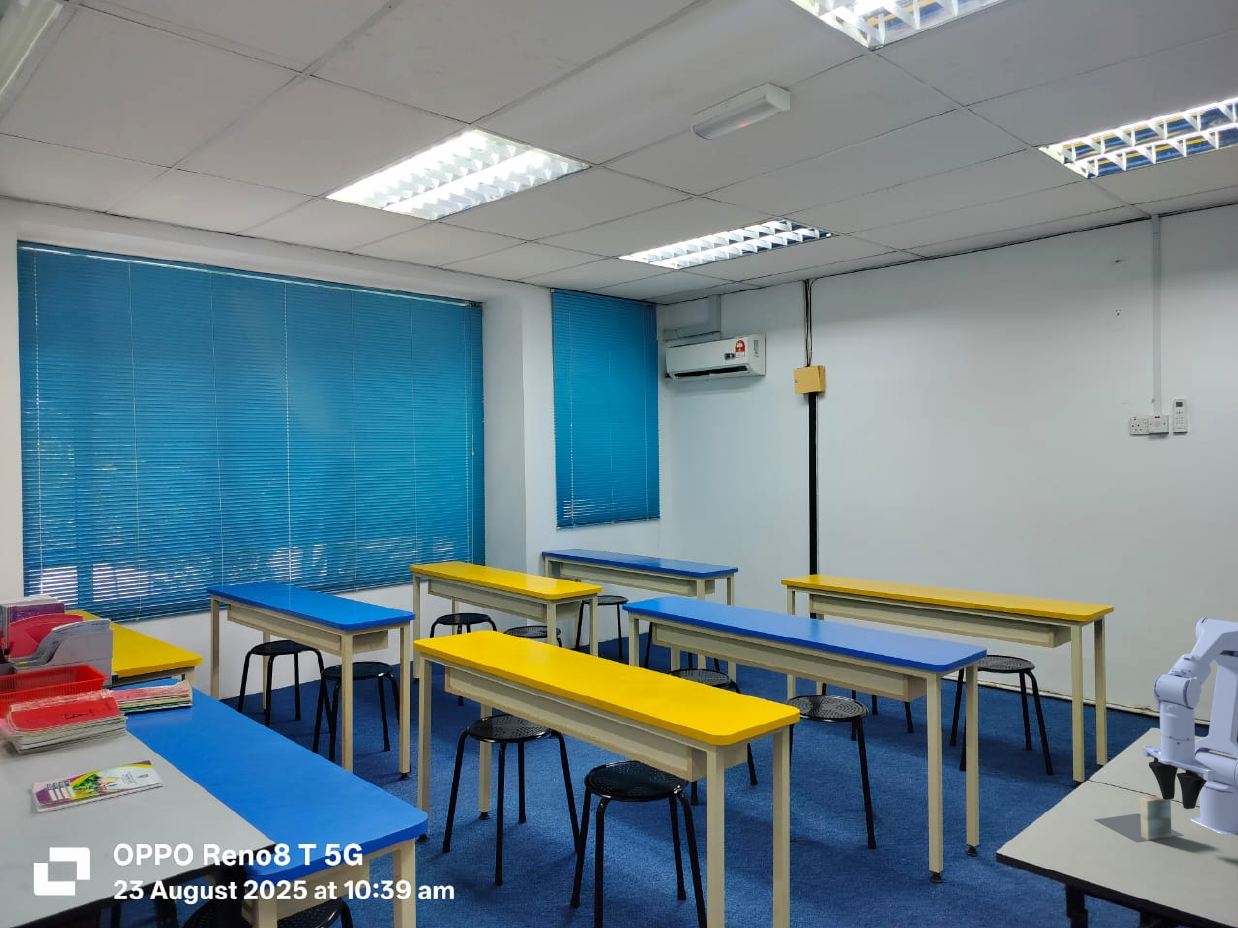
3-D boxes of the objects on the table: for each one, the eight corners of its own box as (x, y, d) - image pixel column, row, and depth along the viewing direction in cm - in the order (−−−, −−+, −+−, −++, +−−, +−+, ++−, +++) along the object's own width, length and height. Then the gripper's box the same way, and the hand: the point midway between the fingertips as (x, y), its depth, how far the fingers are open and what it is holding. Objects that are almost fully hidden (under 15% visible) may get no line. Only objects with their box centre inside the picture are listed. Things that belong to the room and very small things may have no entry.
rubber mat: (1138, 814, 177) (1138, 813, 177) (1184, 836, 166) (1184, 835, 166) (1093, 821, 174) (1093, 819, 174) (1136, 844, 164) (1136, 842, 164)
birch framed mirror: (1164, 832, 167) (1163, 794, 167) (1172, 836, 166) (1171, 798, 166) (1141, 836, 166) (1140, 797, 166) (1148, 840, 164) (1147, 801, 164)
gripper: (1130, 726, 167) (1131, 791, 167) (1194, 749, 153) (1196, 820, 153) (1157, 723, 169) (1159, 787, 169) (1224, 746, 155) (1225, 816, 154)
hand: (1178, 803), depth 161 cm, fingers open, 4 cm apart
